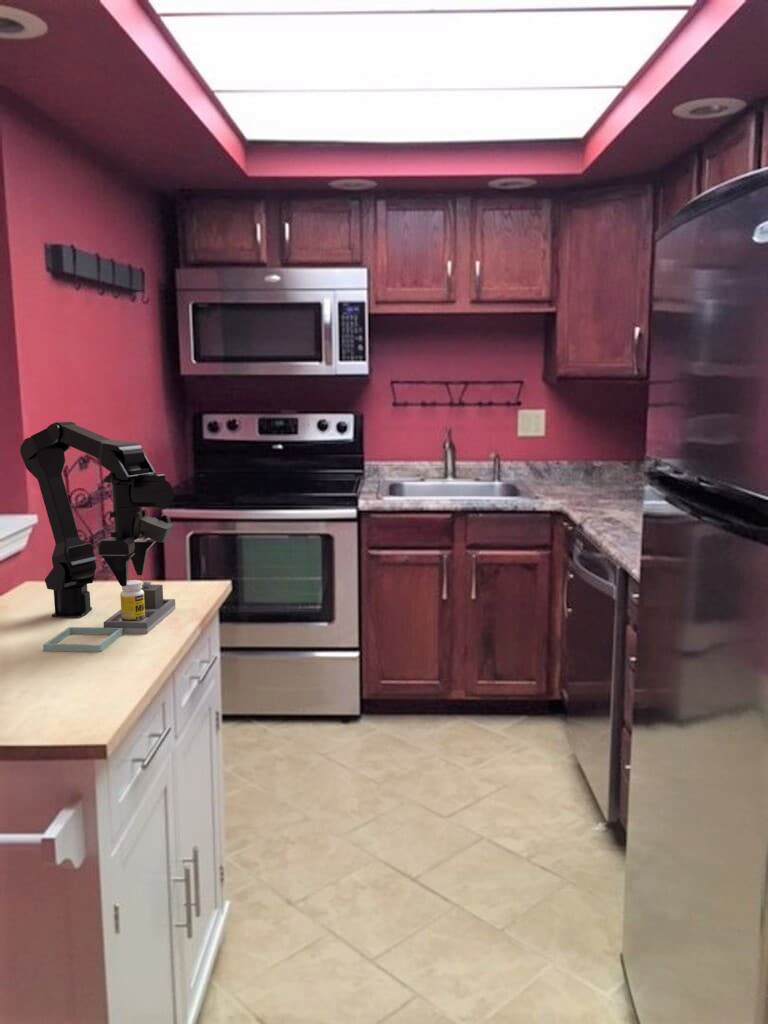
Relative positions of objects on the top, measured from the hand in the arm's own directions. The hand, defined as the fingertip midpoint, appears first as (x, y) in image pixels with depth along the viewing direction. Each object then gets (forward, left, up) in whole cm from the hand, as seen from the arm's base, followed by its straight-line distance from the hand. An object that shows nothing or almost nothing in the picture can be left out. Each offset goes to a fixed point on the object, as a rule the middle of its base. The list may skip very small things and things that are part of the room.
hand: (132, 580), depth 173 cm
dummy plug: (0, +9, -10) cm, 13 cm away
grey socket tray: (0, +5, -10) cm, 11 cm away
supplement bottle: (0, 0, -9) cm, 9 cm away
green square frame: (-6, -10, -10) cm, 16 cm away
